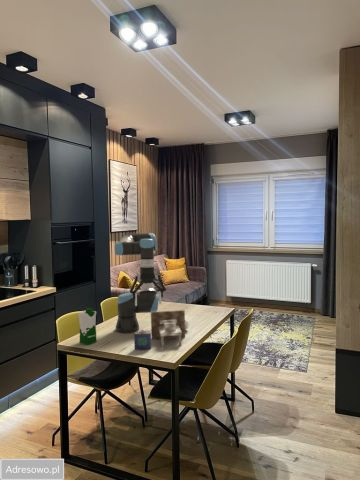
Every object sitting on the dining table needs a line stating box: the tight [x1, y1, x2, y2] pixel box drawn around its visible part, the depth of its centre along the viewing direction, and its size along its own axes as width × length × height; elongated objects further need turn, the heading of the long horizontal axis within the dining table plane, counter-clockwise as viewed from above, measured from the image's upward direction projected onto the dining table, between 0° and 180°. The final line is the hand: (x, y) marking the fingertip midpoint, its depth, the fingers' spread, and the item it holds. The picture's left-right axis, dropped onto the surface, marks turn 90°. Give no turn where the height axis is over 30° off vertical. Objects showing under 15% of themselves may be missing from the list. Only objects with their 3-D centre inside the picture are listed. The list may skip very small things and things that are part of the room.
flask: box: [133, 329, 152, 351], centre depth 201 cm, size 9×3×11 cm, turn 95°
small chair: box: [150, 309, 186, 348], centre depth 212 cm, size 20×16×16 cm
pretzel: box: [185, 318, 190, 331], centre depth 232 cm, size 11×12×9 cm
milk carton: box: [77, 307, 98, 346], centre depth 213 cm, size 9×9×20 cm
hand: (148, 304), depth 204 cm, fingers open, 13 cm apart
